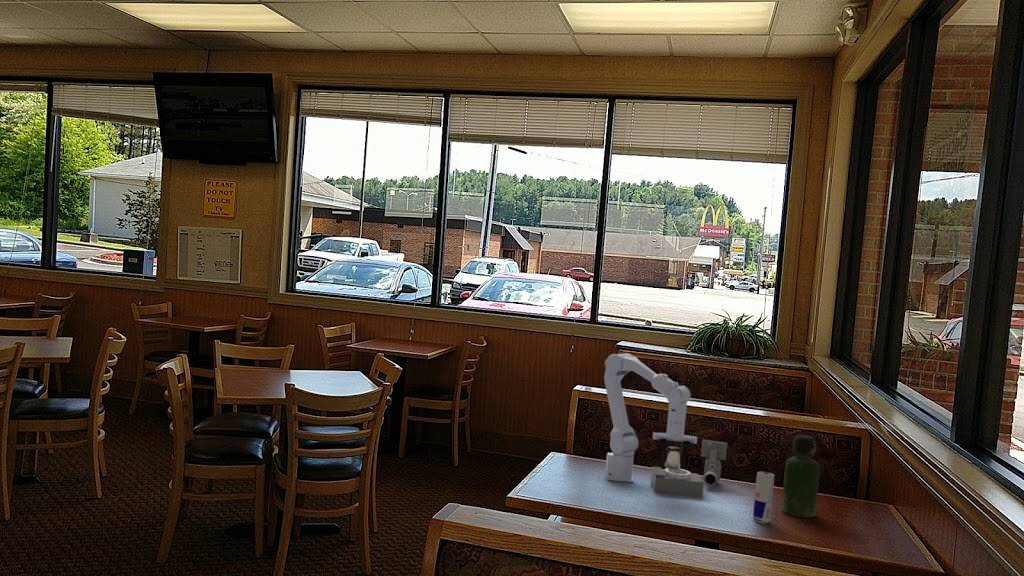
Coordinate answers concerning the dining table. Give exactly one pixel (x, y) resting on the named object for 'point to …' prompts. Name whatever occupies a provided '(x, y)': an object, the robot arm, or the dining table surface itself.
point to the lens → (673, 458)
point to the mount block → (676, 482)
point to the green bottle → (801, 479)
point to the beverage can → (763, 497)
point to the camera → (713, 460)
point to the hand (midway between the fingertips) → (672, 462)
